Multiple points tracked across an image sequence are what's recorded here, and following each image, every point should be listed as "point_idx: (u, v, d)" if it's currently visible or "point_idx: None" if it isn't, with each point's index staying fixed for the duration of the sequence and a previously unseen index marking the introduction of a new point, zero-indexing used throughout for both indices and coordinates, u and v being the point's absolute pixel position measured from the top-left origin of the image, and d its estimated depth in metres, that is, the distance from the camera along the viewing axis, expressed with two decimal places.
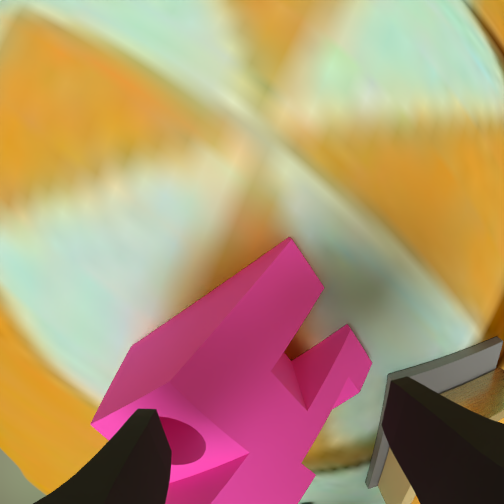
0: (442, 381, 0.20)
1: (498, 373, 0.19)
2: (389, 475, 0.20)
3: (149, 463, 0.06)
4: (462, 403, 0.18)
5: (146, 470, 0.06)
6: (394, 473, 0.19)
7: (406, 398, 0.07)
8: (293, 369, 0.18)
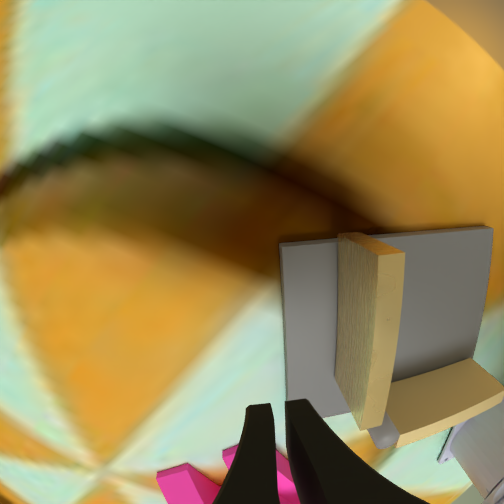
0: (315, 361, 0.17)
1: (342, 252, 0.15)
2: None
3: None
4: (347, 365, 0.15)
5: (276, 467, 0.06)
6: None
7: (290, 423, 0.07)
8: None
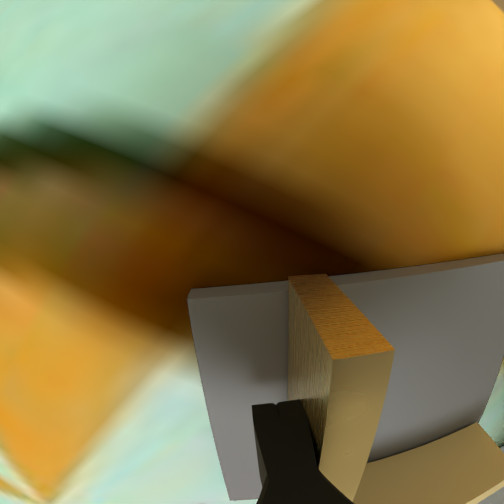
0: (255, 445, 0.11)
1: (291, 309, 0.09)
2: None
3: None
4: None
5: None
6: None
7: None
8: None
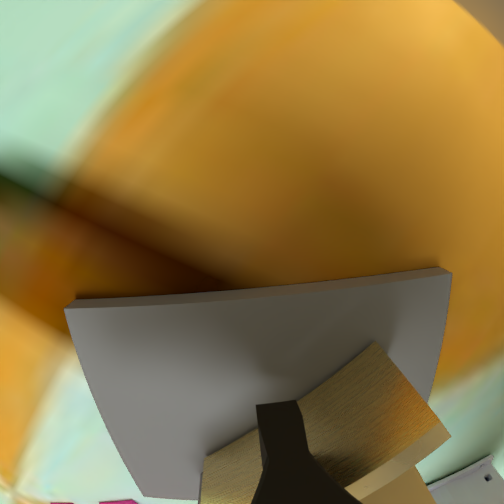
0: (146, 446, 0.12)
1: (363, 363, 0.10)
2: None
3: None
4: (245, 471, 0.09)
5: None
6: None
7: (258, 427, 0.07)
8: None
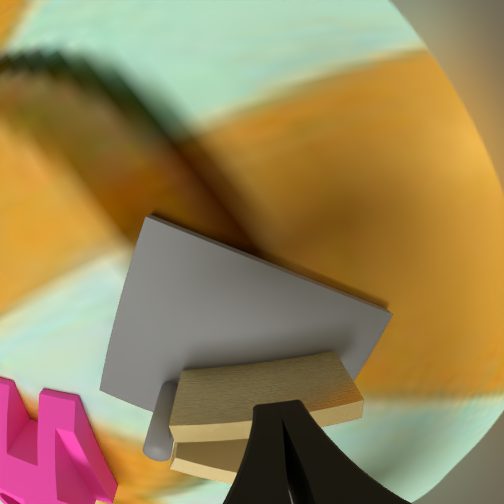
0: (138, 343, 0.17)
1: (324, 358, 0.17)
2: None
3: None
4: (221, 388, 0.15)
5: None
6: None
7: (282, 425, 0.07)
8: None
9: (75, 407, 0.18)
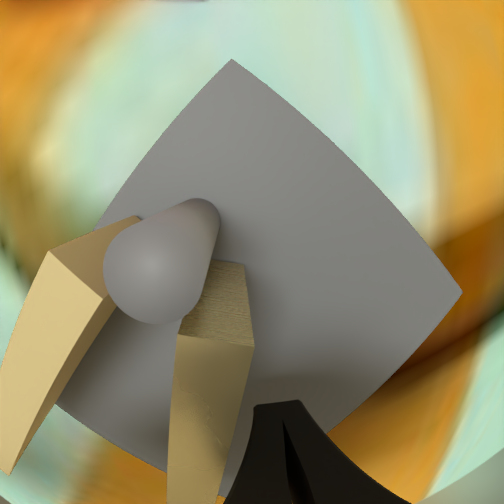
0: (318, 202, 0.09)
1: None
2: None
3: None
4: None
5: None
6: None
7: (282, 425, 0.07)
8: None
9: None
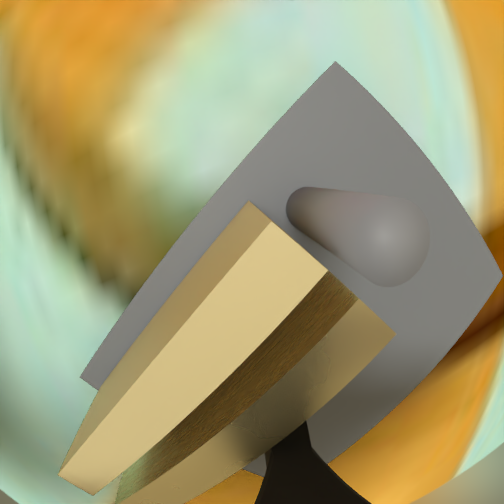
0: (406, 196, 0.10)
1: None
2: (139, 343, 0.09)
3: None
4: None
5: None
6: (155, 326, 0.08)
7: None
8: None
9: None
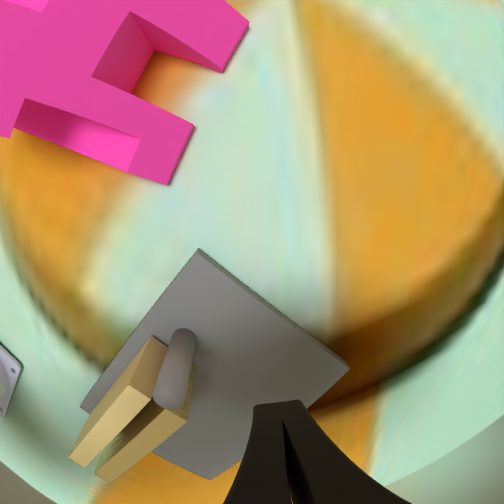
0: (248, 330, 0.17)
1: None
2: (105, 398, 0.16)
3: None
4: None
5: None
6: (110, 394, 0.15)
7: (282, 425, 0.07)
8: None
9: (157, 181, 0.15)
